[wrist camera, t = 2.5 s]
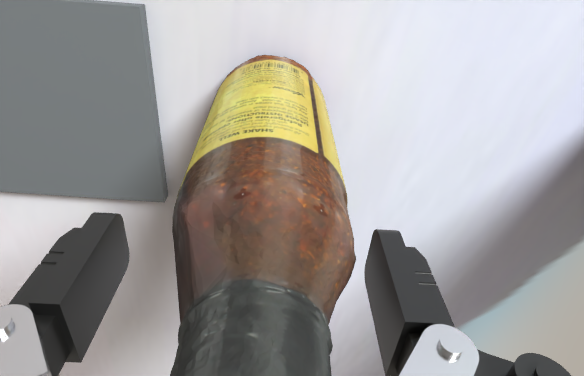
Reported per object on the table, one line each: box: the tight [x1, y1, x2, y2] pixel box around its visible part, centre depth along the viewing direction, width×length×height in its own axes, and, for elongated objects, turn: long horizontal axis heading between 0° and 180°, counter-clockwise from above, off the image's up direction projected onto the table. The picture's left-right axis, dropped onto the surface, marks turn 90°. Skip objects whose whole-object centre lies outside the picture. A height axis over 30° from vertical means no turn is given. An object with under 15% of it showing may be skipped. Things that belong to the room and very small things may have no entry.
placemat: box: [0, 0, 168, 202], centre depth 23 cm, size 14×12×1 cm
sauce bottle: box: [170, 55, 356, 376], centre depth 15 cm, size 6×6×20 cm
